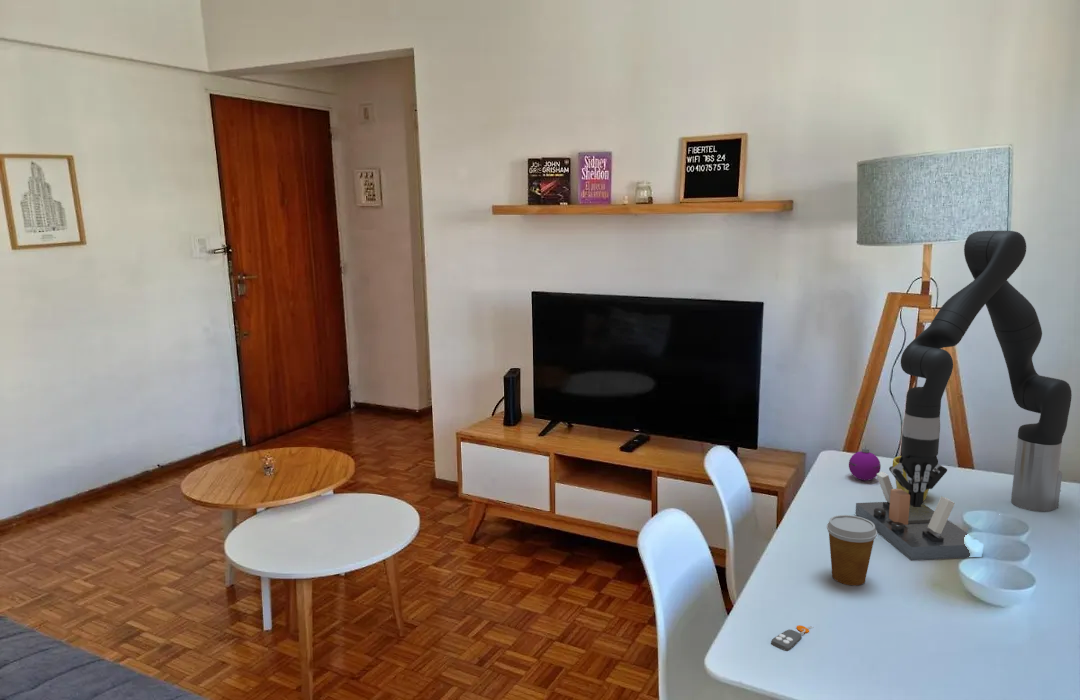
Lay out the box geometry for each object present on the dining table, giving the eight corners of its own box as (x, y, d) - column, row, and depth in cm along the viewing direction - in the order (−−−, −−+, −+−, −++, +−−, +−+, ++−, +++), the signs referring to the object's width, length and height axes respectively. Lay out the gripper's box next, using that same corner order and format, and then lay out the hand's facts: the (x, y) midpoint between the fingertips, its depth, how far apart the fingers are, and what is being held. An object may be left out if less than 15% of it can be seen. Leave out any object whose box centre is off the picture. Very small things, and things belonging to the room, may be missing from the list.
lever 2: (930, 531, 165) (945, 497, 164) (940, 538, 161) (956, 503, 160) (924, 529, 165) (939, 495, 163) (934, 536, 161) (950, 501, 160)
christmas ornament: (848, 473, 213) (850, 439, 211) (879, 476, 210) (881, 442, 208) (847, 482, 206) (849, 448, 204) (879, 486, 202) (882, 451, 201)
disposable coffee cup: (871, 571, 155) (875, 517, 153) (875, 592, 146) (880, 535, 144) (823, 564, 158) (826, 511, 156) (824, 585, 149) (827, 529, 147)
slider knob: (898, 517, 173) (900, 488, 172) (908, 524, 169) (910, 495, 168) (888, 518, 173) (890, 489, 172) (897, 525, 169) (900, 495, 168)
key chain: (789, 655, 127) (789, 647, 126) (769, 646, 129) (769, 638, 129) (824, 626, 135) (825, 618, 135) (805, 618, 138) (806, 611, 138)
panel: (917, 511, 185) (918, 494, 184) (982, 557, 160) (984, 537, 159) (855, 514, 184) (856, 497, 183) (911, 560, 159) (912, 540, 158)
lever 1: (891, 500, 181) (881, 470, 180) (899, 506, 178) (889, 476, 176) (885, 502, 181) (875, 473, 180) (894, 508, 178) (883, 478, 176)
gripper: (939, 428, 172) (933, 498, 175) (883, 429, 171) (878, 500, 174) (959, 437, 164) (952, 511, 167) (901, 439, 163) (896, 513, 167)
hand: (915, 505), depth 171 cm, fingers closed
